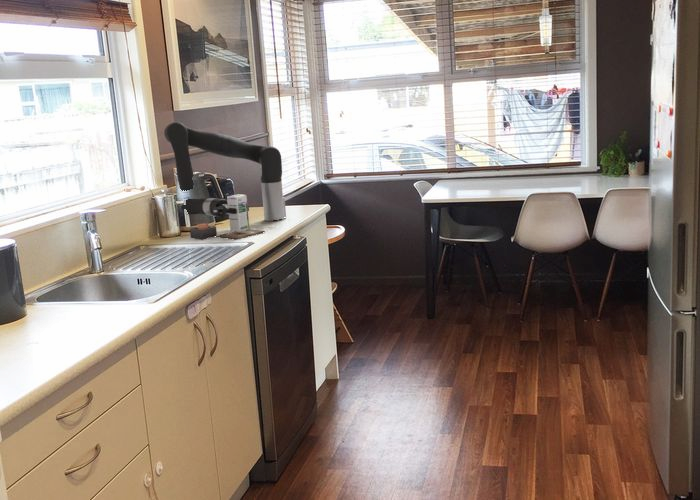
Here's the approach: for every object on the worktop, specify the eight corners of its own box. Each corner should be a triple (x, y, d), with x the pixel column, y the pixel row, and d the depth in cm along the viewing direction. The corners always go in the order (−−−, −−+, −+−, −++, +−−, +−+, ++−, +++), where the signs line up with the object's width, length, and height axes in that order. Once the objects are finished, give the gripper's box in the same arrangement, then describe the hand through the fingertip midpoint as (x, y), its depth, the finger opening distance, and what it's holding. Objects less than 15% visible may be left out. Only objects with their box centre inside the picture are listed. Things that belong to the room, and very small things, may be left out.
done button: (204, 230, 320) (203, 222, 319) (210, 230, 317) (210, 223, 316) (195, 231, 316) (194, 224, 316) (202, 232, 313) (201, 225, 313)
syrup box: (239, 231, 312) (236, 196, 309) (229, 230, 316) (226, 195, 313) (249, 229, 317) (246, 194, 314) (239, 228, 320) (236, 193, 317)
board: (245, 230, 327) (245, 228, 326) (264, 232, 319) (264, 230, 319) (216, 237, 315) (215, 235, 315) (235, 239, 307) (235, 237, 307)
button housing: (205, 234, 322) (204, 225, 321) (216, 236, 317) (216, 226, 316) (190, 238, 317) (189, 228, 316) (202, 239, 312) (201, 230, 311)
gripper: (201, 201, 318) (227, 203, 307) (228, 196, 328) (254, 198, 317) (203, 218, 319) (229, 222, 309) (229, 213, 330) (256, 216, 319)
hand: (242, 209), depth 313 cm, fingers closed on syrup box, 6 cm apart
